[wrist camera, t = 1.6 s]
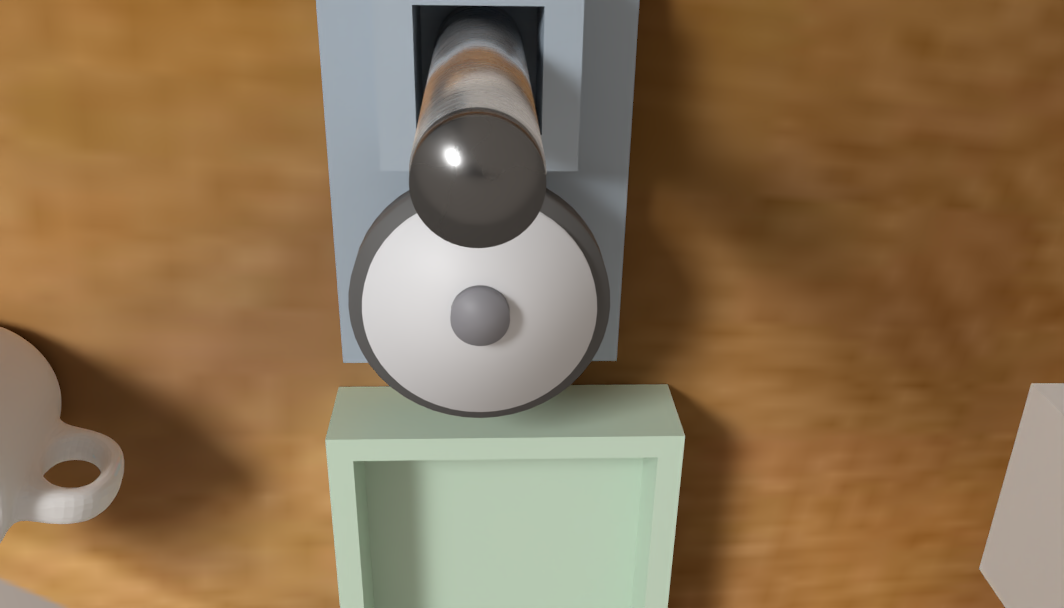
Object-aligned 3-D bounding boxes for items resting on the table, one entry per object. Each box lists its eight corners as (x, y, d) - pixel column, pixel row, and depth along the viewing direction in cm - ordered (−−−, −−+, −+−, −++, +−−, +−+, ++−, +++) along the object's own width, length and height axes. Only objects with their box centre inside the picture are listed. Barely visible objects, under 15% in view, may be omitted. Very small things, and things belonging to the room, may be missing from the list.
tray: (338, 386, 41) (325, 439, 38) (667, 384, 42) (684, 435, 38) (360, 667, 48) (351, 734, 45) (642, 660, 49) (655, 726, 45)
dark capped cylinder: (434, 1, 33) (403, 114, 20) (522, 2, 33) (550, 114, 20) (436, 89, 34) (409, 250, 21) (521, 90, 35) (547, 250, 21)
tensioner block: (318, -67, 33) (282, -45, 27) (636, -63, 34) (670, -40, 28) (347, 345, 40) (324, 434, 34) (612, 343, 41) (634, 431, 35)
